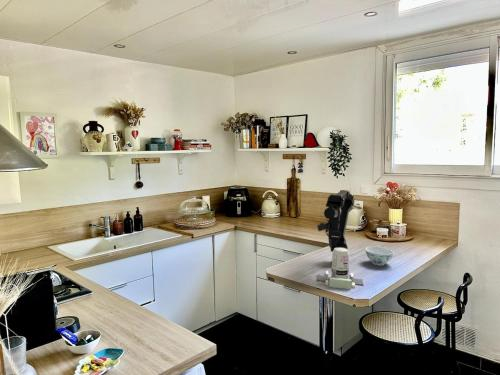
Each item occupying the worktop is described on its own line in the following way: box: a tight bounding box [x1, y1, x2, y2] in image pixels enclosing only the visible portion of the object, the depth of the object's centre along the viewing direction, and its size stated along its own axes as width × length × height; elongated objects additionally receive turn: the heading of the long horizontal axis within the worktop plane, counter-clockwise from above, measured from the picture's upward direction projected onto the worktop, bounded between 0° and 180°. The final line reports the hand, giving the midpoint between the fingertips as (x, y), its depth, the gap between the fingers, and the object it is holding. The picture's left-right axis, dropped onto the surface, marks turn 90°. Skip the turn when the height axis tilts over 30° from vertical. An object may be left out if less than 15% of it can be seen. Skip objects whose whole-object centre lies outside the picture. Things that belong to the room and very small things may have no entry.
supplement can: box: [330, 248, 350, 279], centre depth 186 cm, size 8×8×15 cm
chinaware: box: [365, 246, 394, 266], centre depth 210 cm, size 15×15×8 cm
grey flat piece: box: [316, 270, 364, 290], centre depth 183 cm, size 18×22×4 cm
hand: (331, 248), depth 194 cm, fingers open, 9 cm apart
